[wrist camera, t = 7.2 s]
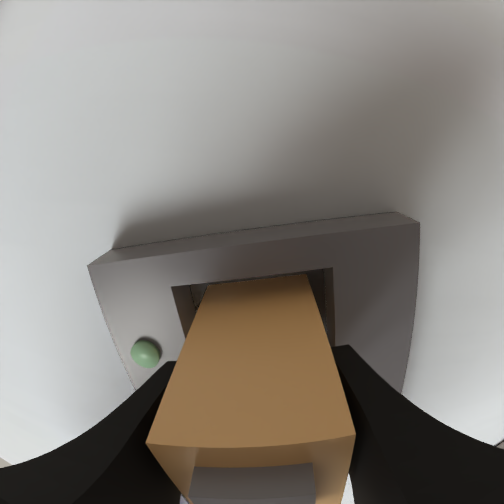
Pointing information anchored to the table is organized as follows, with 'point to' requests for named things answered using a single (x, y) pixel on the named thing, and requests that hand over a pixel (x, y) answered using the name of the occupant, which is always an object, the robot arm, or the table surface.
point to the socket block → (264, 264)
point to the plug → (256, 401)
